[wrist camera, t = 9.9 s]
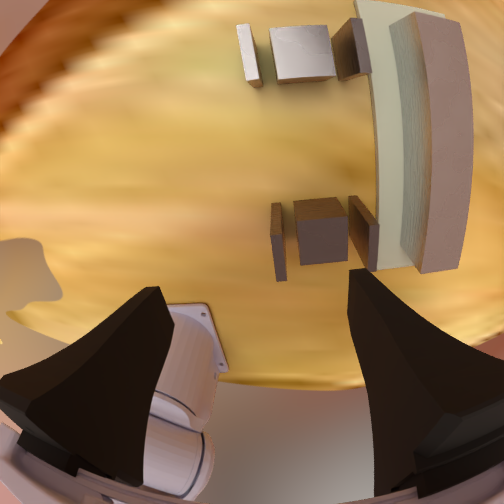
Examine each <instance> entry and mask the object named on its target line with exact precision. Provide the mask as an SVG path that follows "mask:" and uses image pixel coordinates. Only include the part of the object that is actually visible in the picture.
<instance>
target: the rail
mask: <svg viewBox="0 0 504 504" xmlns="http://www.w3.org/2000/svg"><path fill="white" fill-rule="evenodd" d="M389 30H390V35H391V40H392V45H393V50H394V56H395V62H396V69H397V76H398V83H399V92H400V102H401V113H402V128H403V155H404V182H403V210H402V225H401V237H400V246H401V247H402V249H403V250H404V251H405V253H406V254H407V256H408V257H409V258H410V260H411V261H412V263H413V264H414V266H415V267H416V268H417V270H418V271H419V273H420V274H425V273H431V272H438V271H444V270H451V269H457V268H458V265H459V261H460V256H461V251H462V247H463V241H464V236H465V230H466V224H467V218H468V211H469V203H470V194H471V183H472V170H473V107H472V94H471V84H470V75H469V68H468V61H467V55H466V50H465V44H464V40H463V35H462V31H461V26H460V23H459V22H455V21H452V20H449V19H445V18H441V17H437V16H433V15H429V14H425V13H420V12H415V11H414V12H412V13H410V14H409V15H407V16H405V17H403V18H402V19H400V20H398V21H396V22H395V23H393V24H391V25H389Z"/></svg>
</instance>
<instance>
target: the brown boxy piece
mask: <svg viewBox="0 0 504 504" xmlns="http://www.w3.org/2000/svg"><path fill="white" fill-rule="evenodd" d="M293 203H294V212H295V222H296V232H297V242H298V249H299V257H300V264H301V265H311V264H321V263H331V262H340V261H348V216H347V214H346V213H345V211H344V209H343V208H342V206H341V204H340V203H339V201H338V199H337V198H336V197H332V198H320V199H310V200H299V201H293ZM379 229H380V225H379V223H378V222H377V221H376V219H375V218H374V217H373V215H372V214H371V213H370V212H369V210H368V209H367V208H366V206H365V205H364V204H363V203H362V201H361V200H360V199H359V198H358V196H349V235H350V237H351V239H352V241H353V243H354V246H355V248H356V250H357V252H358V254H359V256H360V258H361V260H362V262H363V264H364V266H365V268H366V269H367V270H368V271H369V272H374V271H377V261H378V247H379ZM270 237H271V244H272V251H273V258H274V265H275V273H276V280H277V282H279V281H287V271H286V251H285V237H284V229H283V220H282V212H281V204H280V203H272V206H271V231H270Z"/></svg>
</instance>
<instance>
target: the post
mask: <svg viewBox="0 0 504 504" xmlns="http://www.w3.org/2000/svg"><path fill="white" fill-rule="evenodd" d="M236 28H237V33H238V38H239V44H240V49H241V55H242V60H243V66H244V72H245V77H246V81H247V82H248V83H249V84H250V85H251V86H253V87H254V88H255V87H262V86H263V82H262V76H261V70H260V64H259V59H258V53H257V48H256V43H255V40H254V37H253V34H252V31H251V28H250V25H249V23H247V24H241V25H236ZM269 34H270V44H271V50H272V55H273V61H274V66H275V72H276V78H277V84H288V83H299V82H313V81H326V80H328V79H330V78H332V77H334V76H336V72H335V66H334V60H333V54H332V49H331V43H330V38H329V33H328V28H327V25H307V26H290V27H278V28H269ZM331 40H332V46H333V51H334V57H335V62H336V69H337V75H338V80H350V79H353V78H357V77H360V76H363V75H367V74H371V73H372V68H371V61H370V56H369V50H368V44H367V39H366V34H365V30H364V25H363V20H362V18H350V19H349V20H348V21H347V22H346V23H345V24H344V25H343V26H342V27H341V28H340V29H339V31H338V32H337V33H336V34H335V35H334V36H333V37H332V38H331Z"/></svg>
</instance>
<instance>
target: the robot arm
mask: <svg viewBox="0 0 504 504" xmlns="http://www.w3.org/2000/svg"><path fill="white" fill-rule="evenodd" d="M203 313H206V314H203ZM347 315H348V320H349V326H350V331H351V336H352V340H353V343H354V346H355V350H356V353H357V356H358V360H359V363H360V367H361V370H362V374H363V377H364V381H365V384H366V389H367V393H368V399H369V407H370V414H371V423H372V433H373V448H374V498H369V499H364V500H358V501H353V502H346V503H339V504H504V360H501V359H498V358H495V357H493V356H490V355H488V354H486V353H483V352H481V351H479V350H476V349H475V348H473V347H471V346H468V345H466V344H465V343H463V342H461V341H459V340H457V339H456V338H454V337H452V336H450V335H449V334H447V333H445V332H444V331H442V330H440V329H439V328H437V327H436V326H434V325H433V324H432V323H430V322H429V321H427V320H426V319H424V318H423V317H422V316H420V315H419V314H418V313H416V312H415V311H414V310H413V309H411V308H410V307H409V306H407V305H406V304H405V303H404V302H403V301H401V300H400V299H399V298H398V297H397V296H396V295H395V294H393V293H392V292H391V291H390V290H389V289H388V288H387V287H386V286H385V285H383V284H382V283H381V282H380V281H379V280H378V279H377V278H376V277H375V276H374V275H373V274H372V273H370V272H369V271H368V270H367V269H366V268H362V269H353V270H349V292H348V309H347ZM228 370H229V367H228V364H227V362H226V359H225V356H224V353H223V350H222V347H221V344H220V341H219V338H218V336H217V333H216V330H215V327H214V324H213V320H212V317H211V314H210V311H209V308H208V306H207V305H206V304H202V303H200V304H178V305H167V304H166V302H165V300H164V297H163V295H162V292H161V290H160V287H159V286H155V287H145V288H144V289H142V290H141V291H140V292H138V293H137V294H136V295H134V296H133V297H132V298H131V299H129V300H128V301H127V302H126V303H125V304H123V305H122V306H121V307H120V308H119V309H117V310H116V311H115V312H114V313H113V314H111V315H110V316H109V317H108V318H106V319H105V320H104V321H103V322H101V323H100V324H99V325H98V326H96V327H95V328H94V329H92V330H91V331H90V332H89V333H87V334H86V335H84V336H83V337H82V338H80V339H79V340H77V341H76V342H74V343H73V344H71V345H70V346H68V347H66V348H65V349H63V350H61V351H59V352H58V353H56V354H54V355H52V356H51V357H49V358H47V359H45V360H42V361H41V362H38V363H36V364H34V365H31V366H29V367H27V368H24V369H21V370H18V371H15V372H13V373H9V374H6V375H4V376H3V377H2V378H1V379H0V409H1V410H2V411H3V412H4V413H5V414H6V415H7V416H8V417H9V418H10V419H11V420H12V421H13V422H15V423H16V424H17V425H18V426H19V427H20V428H21V429H23V431H22V433H21V434H19V433H18V432H17V431H15V430H14V429H12V428H10V427H9V426H8V425H6V424H4V423H1V425H0V481H1V482H2V483H3V484H4V485H5V486H6V487H7V488H8V490H9V491H10V492H11V493H12V494H13V495H14V496H15V497H16V498H17V499H18V500H19V501H20V502H21V503H22V504H208V503H201V502H194V500H195V499H196V497H197V496H198V494H199V493H200V492H201V491H202V490H203V489H204V488H205V486H206V485H207V483H208V480H209V479H210V476H211V473H212V469H213V466H214V460H215V449H214V445H213V443H212V440H211V437H210V436H209V434H208V433H206V432H204V431H202V429H203V427H204V426H205V425H206V424H207V422H208V421H209V419H210V416H211V412H212V407H213V401H214V397H215V391H216V387H217V382H218V377H219V373H225V372H228Z"/></svg>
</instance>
